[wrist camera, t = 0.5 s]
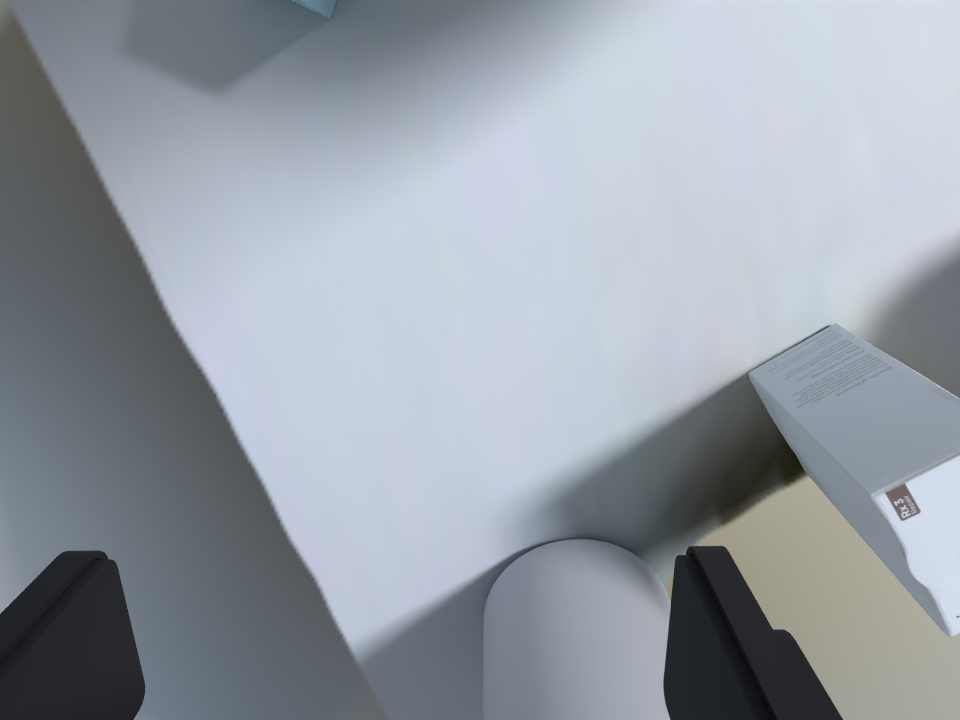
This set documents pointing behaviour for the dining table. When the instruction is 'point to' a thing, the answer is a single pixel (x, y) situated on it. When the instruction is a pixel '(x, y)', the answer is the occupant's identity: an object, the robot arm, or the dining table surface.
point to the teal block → (319, 6)
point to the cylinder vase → (576, 636)
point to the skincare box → (877, 455)
